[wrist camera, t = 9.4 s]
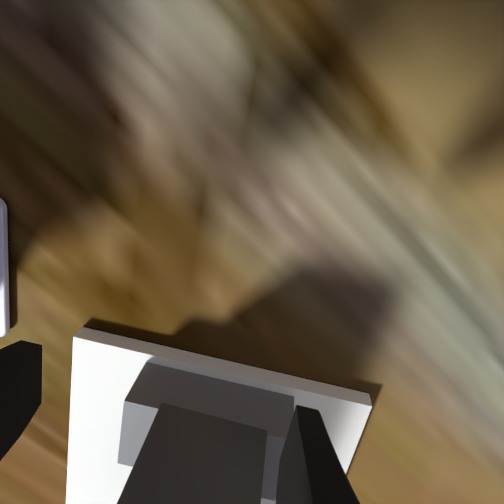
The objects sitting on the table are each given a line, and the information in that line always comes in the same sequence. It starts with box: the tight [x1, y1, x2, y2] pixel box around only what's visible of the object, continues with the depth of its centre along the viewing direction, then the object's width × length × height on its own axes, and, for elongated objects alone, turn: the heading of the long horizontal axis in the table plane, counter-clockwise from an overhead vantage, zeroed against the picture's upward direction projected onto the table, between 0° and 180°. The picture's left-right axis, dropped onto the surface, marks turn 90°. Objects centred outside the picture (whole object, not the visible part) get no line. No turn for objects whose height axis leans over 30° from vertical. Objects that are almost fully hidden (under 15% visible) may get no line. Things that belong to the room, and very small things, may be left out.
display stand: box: [66, 327, 372, 504], centre depth 24 cm, size 16×15×4 cm
